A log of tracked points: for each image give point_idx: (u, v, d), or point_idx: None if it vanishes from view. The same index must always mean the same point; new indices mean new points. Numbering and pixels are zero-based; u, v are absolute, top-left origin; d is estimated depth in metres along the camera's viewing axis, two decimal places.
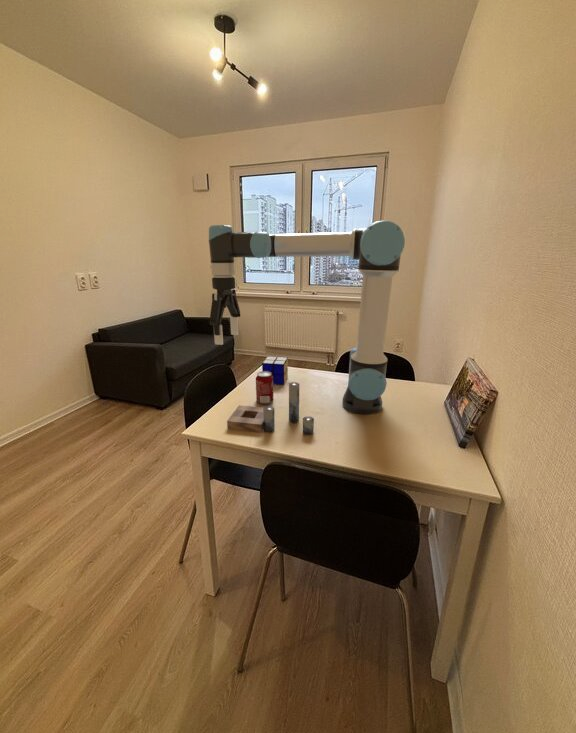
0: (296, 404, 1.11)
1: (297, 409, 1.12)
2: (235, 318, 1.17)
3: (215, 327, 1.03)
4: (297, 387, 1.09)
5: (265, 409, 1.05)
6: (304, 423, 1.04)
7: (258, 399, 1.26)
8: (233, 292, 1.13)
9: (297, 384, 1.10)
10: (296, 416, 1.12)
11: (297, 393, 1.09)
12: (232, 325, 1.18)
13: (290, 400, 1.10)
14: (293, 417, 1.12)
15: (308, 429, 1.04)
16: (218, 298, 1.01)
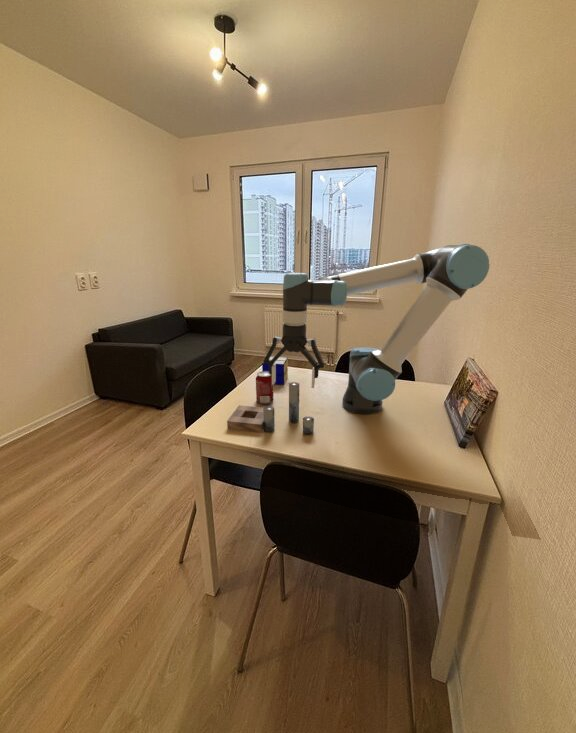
0: (296, 404, 1.11)
1: (297, 409, 1.12)
2: (312, 370, 1.06)
3: None
4: (297, 387, 1.09)
5: (265, 409, 1.05)
6: (304, 423, 1.04)
7: (258, 399, 1.26)
8: (311, 342, 1.03)
9: (297, 384, 1.09)
10: (296, 416, 1.12)
11: (297, 393, 1.09)
12: None
13: (290, 400, 1.10)
14: (293, 417, 1.12)
15: (308, 429, 1.04)
16: (273, 341, 1.05)
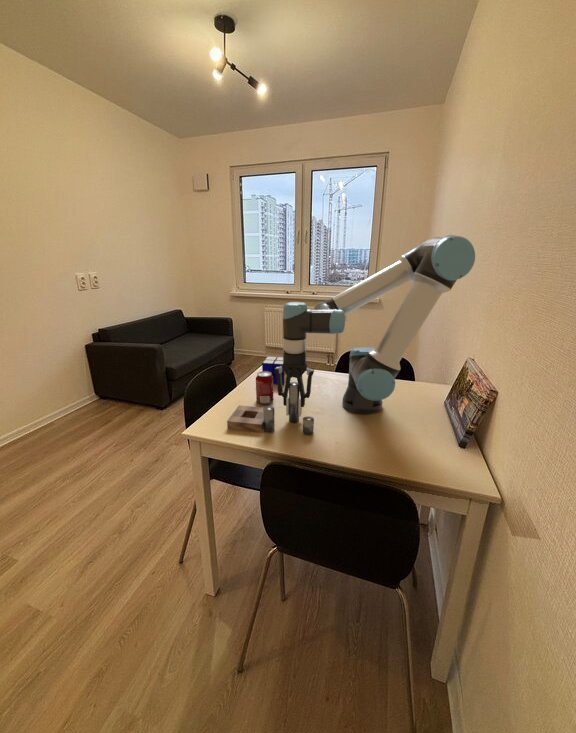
0: (296, 404, 1.11)
1: (297, 409, 1.12)
2: None
3: None
4: (297, 387, 1.09)
5: (265, 409, 1.05)
6: (304, 423, 1.04)
7: (258, 399, 1.26)
8: (309, 372, 1.06)
9: (297, 384, 1.09)
10: (296, 416, 1.12)
11: (297, 393, 1.09)
12: None
13: (290, 400, 1.10)
14: (293, 417, 1.12)
15: (308, 429, 1.04)
16: (276, 373, 1.09)
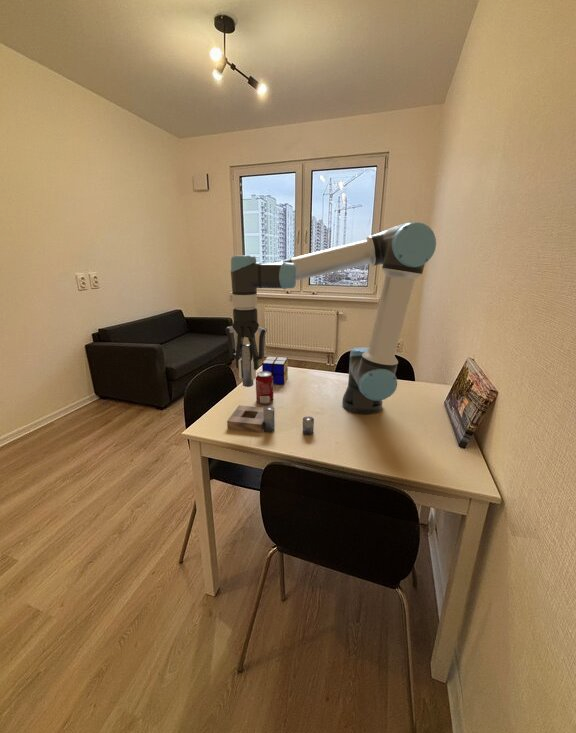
0: (249, 366, 1.05)
1: (250, 372, 1.06)
2: None
3: None
4: (249, 347, 1.03)
5: (265, 409, 1.05)
6: (304, 423, 1.04)
7: (258, 399, 1.26)
8: None
9: (249, 345, 1.04)
10: (249, 379, 1.06)
11: (249, 354, 1.04)
12: None
13: (242, 362, 1.05)
14: (246, 380, 1.06)
15: (308, 429, 1.04)
16: (226, 332, 1.03)
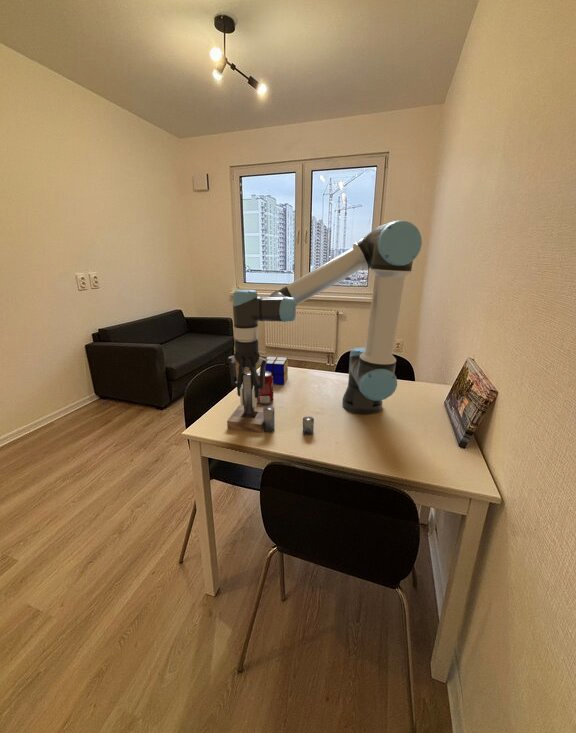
0: (250, 394, 1.08)
1: (251, 400, 1.09)
2: None
3: None
4: (250, 377, 1.06)
5: (265, 409, 1.05)
6: (304, 423, 1.04)
7: (258, 399, 1.26)
8: (262, 362, 1.04)
9: (250, 374, 1.07)
10: (250, 407, 1.10)
11: (250, 383, 1.07)
12: None
13: (244, 390, 1.08)
14: (247, 408, 1.10)
15: (308, 429, 1.04)
16: (228, 362, 1.06)
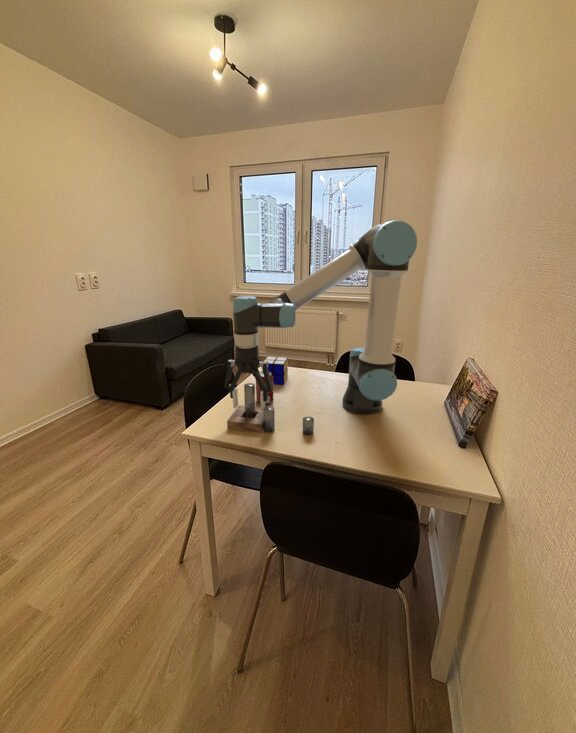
0: (251, 405, 1.10)
1: (253, 410, 1.11)
2: (261, 393, 1.08)
3: None
4: (252, 388, 1.08)
5: (265, 409, 1.05)
6: (304, 423, 1.04)
7: (258, 399, 1.26)
8: (263, 365, 1.04)
9: (252, 385, 1.08)
10: (252, 417, 1.11)
11: (252, 394, 1.08)
12: None
13: (245, 401, 1.09)
14: None
15: (308, 429, 1.04)
16: None
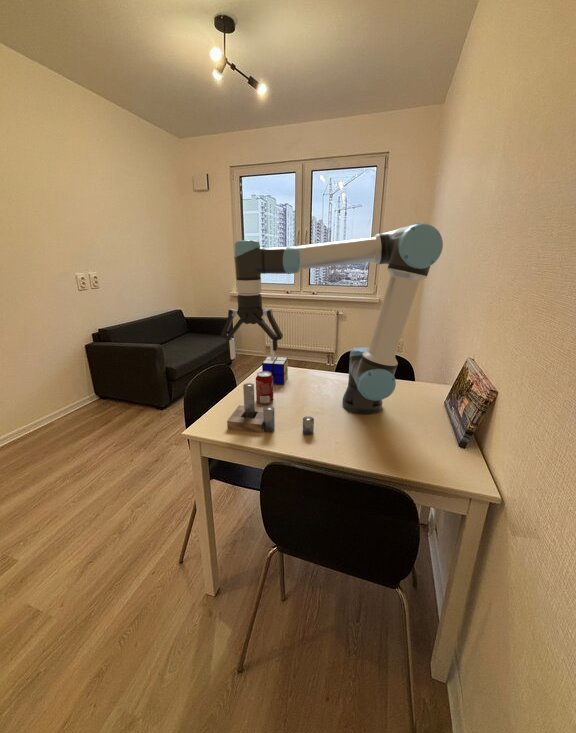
0: (251, 405, 1.10)
1: (252, 410, 1.11)
2: None
3: None
4: (251, 388, 1.08)
5: (265, 409, 1.05)
6: (304, 423, 1.04)
7: (258, 399, 1.26)
8: None
9: (251, 385, 1.08)
10: (251, 417, 1.11)
11: (251, 394, 1.08)
12: None
13: (245, 401, 1.09)
14: None
15: (308, 429, 1.04)
16: None
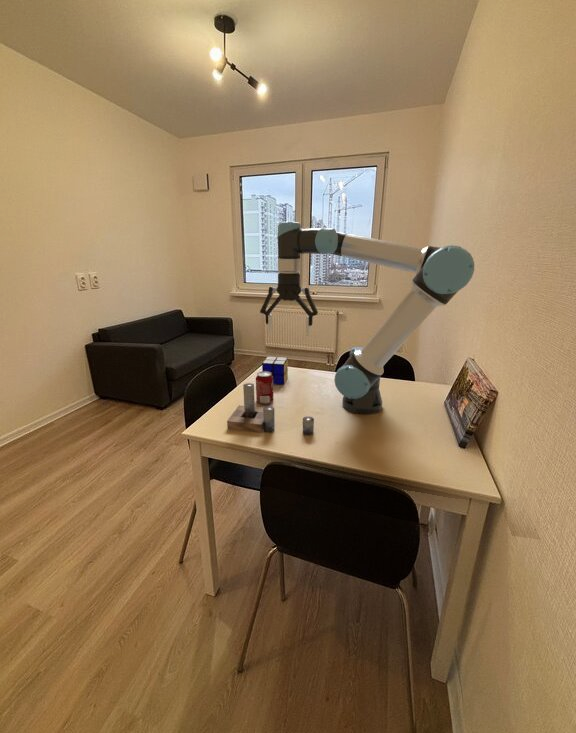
0: (251, 405, 1.10)
1: (252, 410, 1.11)
2: None
3: None
4: (251, 388, 1.08)
5: (265, 409, 1.05)
6: (304, 423, 1.04)
7: (258, 399, 1.26)
8: (305, 290, 1.09)
9: (251, 385, 1.08)
10: (251, 417, 1.11)
11: (251, 394, 1.08)
12: None
13: (245, 401, 1.09)
14: None
15: (308, 429, 1.04)
16: (269, 290, 1.11)
